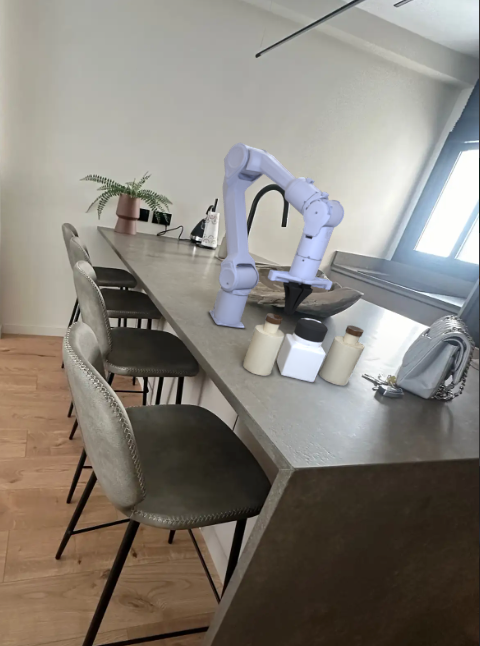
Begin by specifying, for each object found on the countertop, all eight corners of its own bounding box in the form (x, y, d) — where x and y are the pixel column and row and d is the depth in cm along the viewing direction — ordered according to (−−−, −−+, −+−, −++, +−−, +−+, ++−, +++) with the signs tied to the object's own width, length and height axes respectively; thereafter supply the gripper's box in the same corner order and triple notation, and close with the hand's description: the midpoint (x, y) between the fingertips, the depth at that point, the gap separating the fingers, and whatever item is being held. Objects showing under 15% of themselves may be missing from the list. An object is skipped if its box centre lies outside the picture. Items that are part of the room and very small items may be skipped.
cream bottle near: (239, 359, 82) (255, 308, 77) (264, 363, 83) (282, 312, 78) (247, 373, 76) (266, 320, 71) (274, 377, 77) (294, 324, 72)
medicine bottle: (314, 383, 78) (336, 332, 73) (280, 375, 79) (300, 324, 73) (307, 367, 84) (326, 319, 79) (275, 360, 85) (293, 312, 80)
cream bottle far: (314, 369, 84) (335, 320, 79) (338, 372, 85) (360, 324, 80) (327, 383, 79) (350, 332, 74) (352, 387, 80) (377, 336, 75)
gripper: (285, 255, 77) (265, 315, 83) (348, 266, 79) (324, 324, 85) (272, 248, 84) (255, 304, 89) (331, 258, 86) (310, 312, 91)
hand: (287, 313), depth 88 cm, fingers closed
